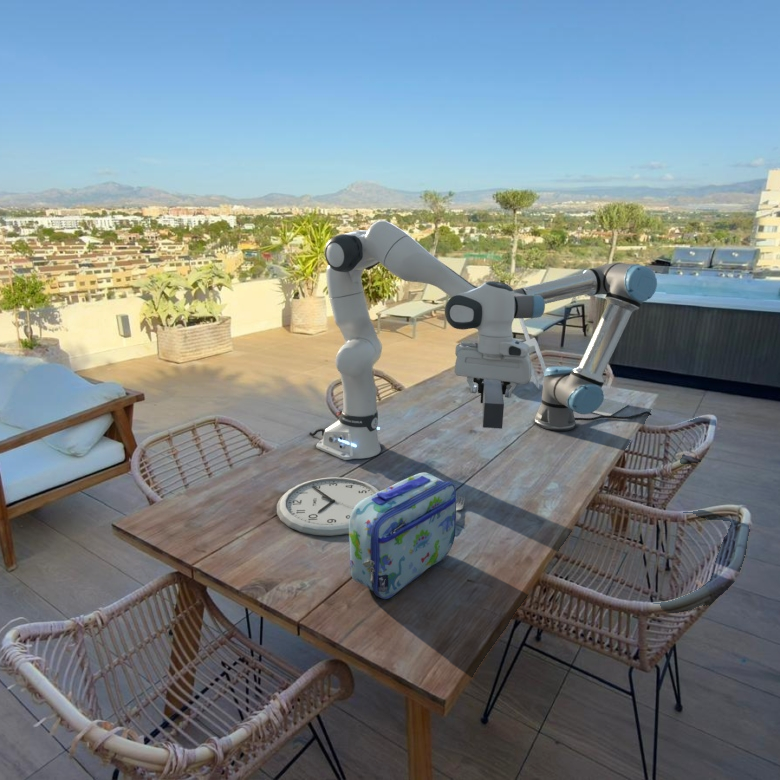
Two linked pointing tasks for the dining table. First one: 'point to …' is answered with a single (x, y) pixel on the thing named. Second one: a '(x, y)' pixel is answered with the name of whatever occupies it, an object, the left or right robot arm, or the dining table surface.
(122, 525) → the dining table surface
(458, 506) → the fork
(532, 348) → the white plastic object
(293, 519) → the wall clock
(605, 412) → the invitation card
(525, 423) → the dining table surface
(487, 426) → the bar
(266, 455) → the dining table surface
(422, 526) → the lunch box
